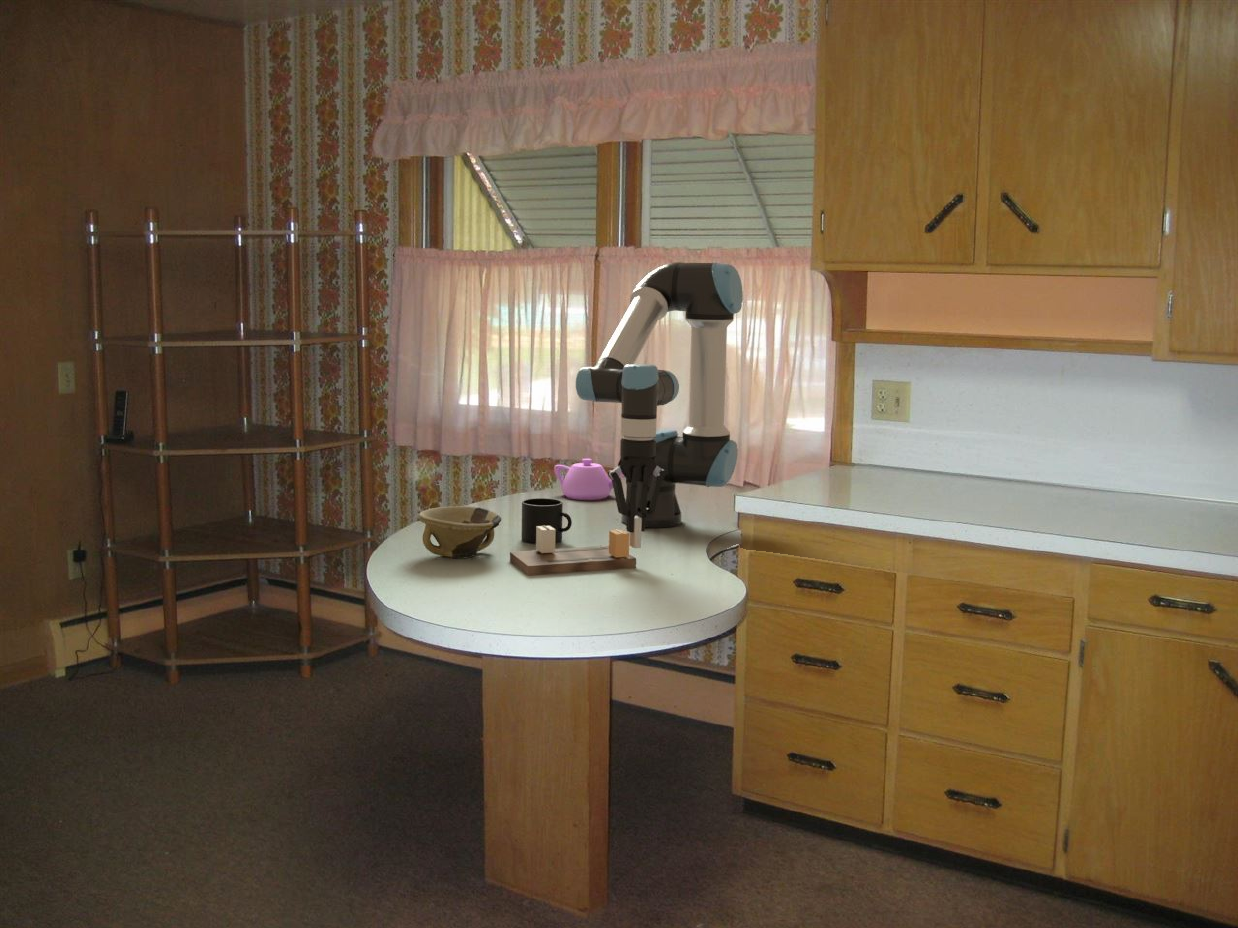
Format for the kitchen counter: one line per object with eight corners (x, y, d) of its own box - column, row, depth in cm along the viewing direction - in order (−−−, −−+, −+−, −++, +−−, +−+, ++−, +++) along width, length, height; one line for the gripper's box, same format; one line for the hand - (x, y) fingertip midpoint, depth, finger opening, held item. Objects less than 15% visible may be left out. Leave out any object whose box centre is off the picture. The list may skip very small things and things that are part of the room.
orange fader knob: (621, 552, 260) (622, 528, 259) (628, 556, 256) (629, 532, 255) (608, 553, 259) (609, 529, 258) (615, 557, 255) (616, 533, 254)
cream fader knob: (549, 548, 262) (549, 524, 261) (555, 552, 259) (555, 528, 258) (536, 548, 261) (536, 525, 260) (541, 553, 257) (542, 529, 257)
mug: (564, 547, 274) (564, 508, 273) (515, 542, 278) (515, 503, 276) (577, 538, 283) (578, 500, 282) (530, 534, 287) (530, 496, 285)
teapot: (621, 503, 329) (622, 464, 327) (549, 499, 332) (550, 461, 330) (627, 494, 343) (628, 457, 341) (558, 490, 345) (558, 453, 343)
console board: (613, 553, 269) (613, 544, 268) (635, 567, 257) (636, 557, 256) (509, 560, 260) (510, 551, 259) (528, 575, 248) (528, 565, 248)
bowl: (434, 568, 252) (434, 523, 250) (408, 550, 268) (408, 507, 266) (512, 561, 260) (513, 517, 258) (482, 543, 276) (483, 502, 274)
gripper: (659, 434, 261) (655, 541, 264) (603, 436, 256) (600, 544, 260) (673, 439, 254) (670, 548, 258) (616, 440, 249) (613, 552, 253)
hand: (635, 546), depth 259 cm, fingers closed
